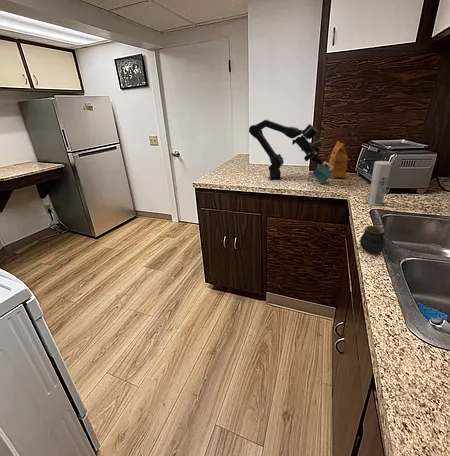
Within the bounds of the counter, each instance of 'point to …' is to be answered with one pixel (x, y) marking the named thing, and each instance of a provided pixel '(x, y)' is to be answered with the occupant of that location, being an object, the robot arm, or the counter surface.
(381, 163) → the spray can
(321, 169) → the mug
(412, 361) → the counter surface
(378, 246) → the mate gourd
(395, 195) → the counter surface
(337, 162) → the coffee package
